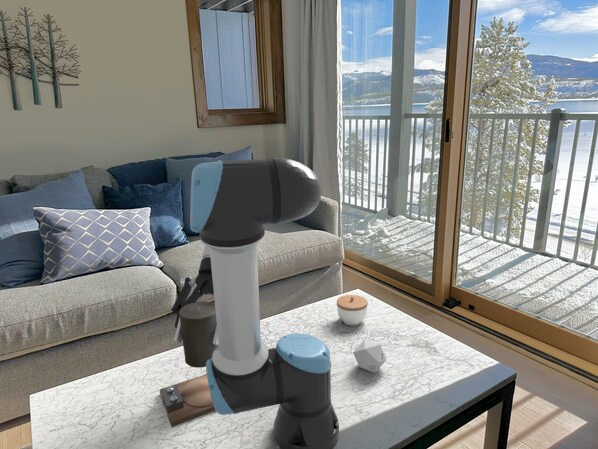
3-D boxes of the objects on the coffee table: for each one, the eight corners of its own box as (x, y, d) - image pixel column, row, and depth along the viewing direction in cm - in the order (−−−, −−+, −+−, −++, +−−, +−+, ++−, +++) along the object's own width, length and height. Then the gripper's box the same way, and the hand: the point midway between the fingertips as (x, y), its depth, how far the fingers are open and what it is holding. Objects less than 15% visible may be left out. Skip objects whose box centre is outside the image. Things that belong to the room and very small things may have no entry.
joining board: (256, 395, 109) (255, 389, 108) (171, 427, 99) (170, 420, 98) (237, 368, 121) (236, 363, 120) (160, 394, 110) (159, 388, 110)
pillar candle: (185, 371, 102) (178, 316, 98) (184, 350, 111) (178, 299, 107) (224, 363, 104) (219, 310, 100) (220, 343, 113) (216, 293, 109)
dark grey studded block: (250, 383, 111) (250, 374, 111) (167, 413, 101) (166, 403, 100) (241, 370, 117) (240, 361, 117) (162, 397, 107) (160, 387, 106)
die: (362, 382, 114) (384, 358, 111) (342, 357, 118) (363, 334, 115) (375, 377, 120) (396, 355, 117) (356, 353, 125) (376, 331, 122)
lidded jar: (351, 311, 153) (351, 287, 150) (373, 321, 145) (374, 297, 142) (330, 320, 146) (330, 296, 144) (352, 332, 138) (352, 306, 136)
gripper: (257, 268, 115) (243, 350, 104) (183, 265, 119) (162, 343, 108) (250, 257, 108) (234, 342, 98) (172, 254, 113) (148, 336, 102)
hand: (196, 343), depth 103 cm, fingers closed on pillar candle, 10 cm apart
